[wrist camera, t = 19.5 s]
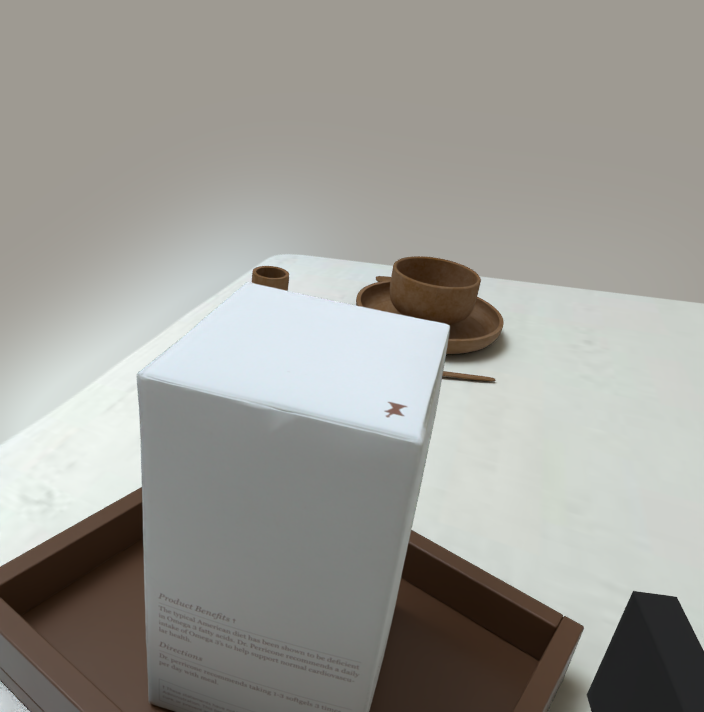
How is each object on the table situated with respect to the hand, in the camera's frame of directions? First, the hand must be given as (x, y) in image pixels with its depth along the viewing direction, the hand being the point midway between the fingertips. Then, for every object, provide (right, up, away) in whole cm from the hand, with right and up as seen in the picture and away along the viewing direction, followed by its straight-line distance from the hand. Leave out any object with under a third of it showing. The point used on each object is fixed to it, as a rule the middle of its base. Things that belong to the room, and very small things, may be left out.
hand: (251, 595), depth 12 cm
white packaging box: (-1, -7, +13) cm, 14 cm away
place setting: (+4, +7, +42) cm, 43 cm away
